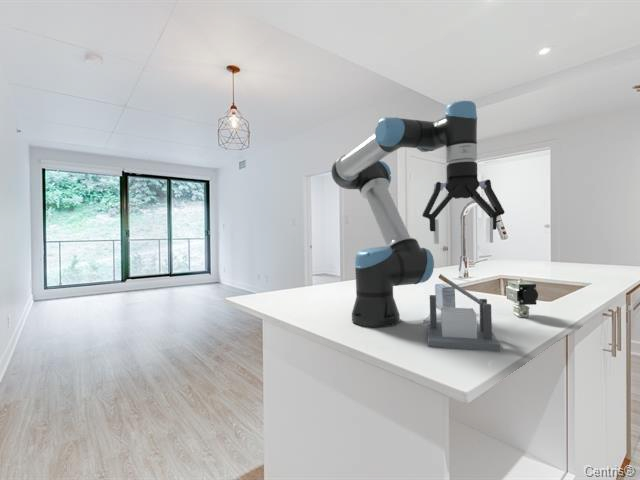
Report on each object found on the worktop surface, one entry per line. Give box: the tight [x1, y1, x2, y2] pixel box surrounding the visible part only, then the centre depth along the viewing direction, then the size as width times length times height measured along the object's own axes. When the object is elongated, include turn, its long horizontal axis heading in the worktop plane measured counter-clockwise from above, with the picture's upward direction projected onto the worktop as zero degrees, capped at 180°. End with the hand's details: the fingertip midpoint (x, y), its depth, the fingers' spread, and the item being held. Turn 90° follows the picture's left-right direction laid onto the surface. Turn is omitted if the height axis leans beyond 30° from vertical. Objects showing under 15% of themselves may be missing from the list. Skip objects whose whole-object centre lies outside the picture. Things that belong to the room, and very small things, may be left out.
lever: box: [438, 273, 488, 307], centre depth 86 cm, size 14×4×1 cm
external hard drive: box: [422, 310, 441, 325], centre depth 106 cm, size 2×8×12 cm
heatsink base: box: [427, 294, 501, 352], centre depth 87 cm, size 16×14×10 cm
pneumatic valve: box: [504, 278, 539, 319], centre depth 107 cm, size 6×12×12 cm, turn 174°
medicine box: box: [434, 283, 457, 311], centre depth 119 cm, size 8×4×9 cm, turn 179°
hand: (462, 243), depth 90 cm, fingers open, 13 cm apart
